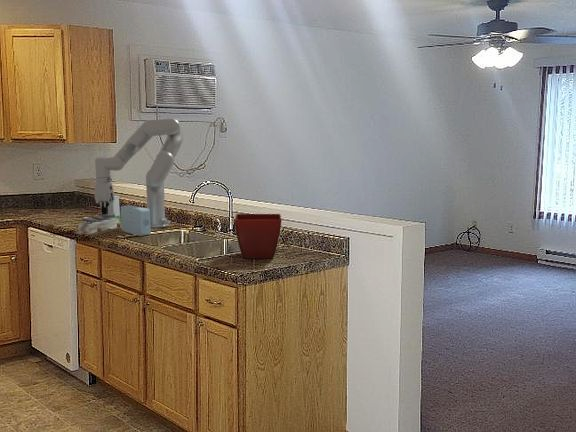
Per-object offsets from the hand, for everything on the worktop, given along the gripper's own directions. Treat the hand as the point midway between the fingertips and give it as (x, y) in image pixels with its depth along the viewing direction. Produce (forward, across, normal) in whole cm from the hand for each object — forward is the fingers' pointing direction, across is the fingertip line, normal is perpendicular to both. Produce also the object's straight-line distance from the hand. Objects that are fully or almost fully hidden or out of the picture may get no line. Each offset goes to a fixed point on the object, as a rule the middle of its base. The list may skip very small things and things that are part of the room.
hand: (104, 214), depth 372 cm
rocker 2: (+2, -2, +8) cm, 9 cm away
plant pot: (+8, -112, +40) cm, 119 cm away
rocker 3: (+2, -2, 0) cm, 3 cm away
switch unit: (+8, -4, +8) cm, 12 cm away
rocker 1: (+2, -2, +16) cm, 16 cm away
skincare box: (+8, +8, -16) cm, 20 cm away
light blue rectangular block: (+8, -25, +7) cm, 27 cm away
